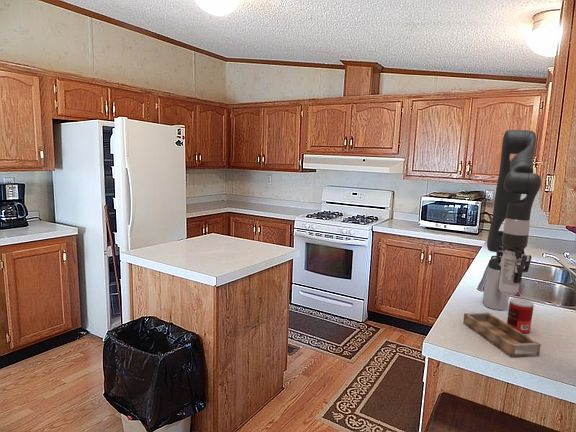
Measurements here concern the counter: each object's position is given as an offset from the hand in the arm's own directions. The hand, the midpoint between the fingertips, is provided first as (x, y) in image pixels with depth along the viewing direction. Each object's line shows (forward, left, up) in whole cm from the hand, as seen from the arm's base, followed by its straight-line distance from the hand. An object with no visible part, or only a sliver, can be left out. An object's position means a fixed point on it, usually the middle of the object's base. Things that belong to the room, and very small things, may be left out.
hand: (509, 279), depth 137 cm
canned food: (-8, +13, -23) cm, 27 cm away
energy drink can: (0, 0, -5) cm, 5 cm away
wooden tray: (-2, 0, -22) cm, 22 cm away
